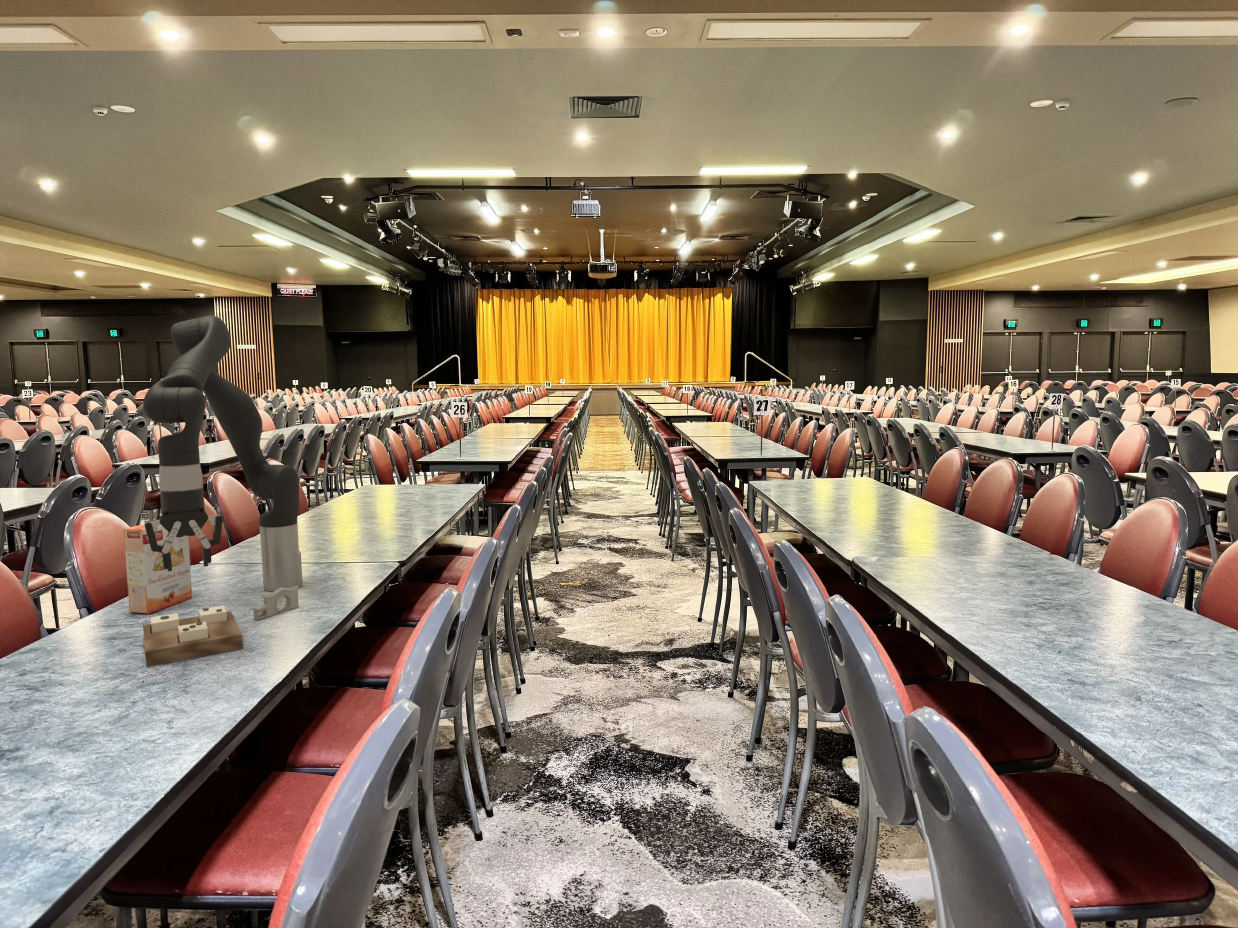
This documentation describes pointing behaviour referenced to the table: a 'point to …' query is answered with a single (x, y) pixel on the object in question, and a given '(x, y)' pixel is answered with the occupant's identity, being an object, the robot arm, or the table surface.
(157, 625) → the key one dot
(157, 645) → the key panel
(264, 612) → the lattice window wall
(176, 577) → the cracker box
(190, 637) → the key three dots
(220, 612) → the key two dots
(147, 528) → the robot arm
